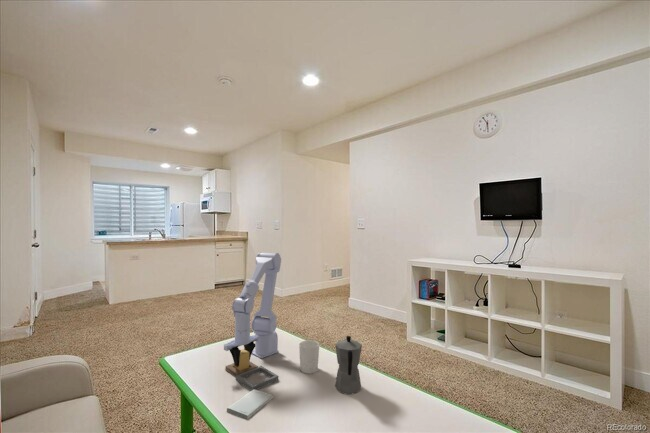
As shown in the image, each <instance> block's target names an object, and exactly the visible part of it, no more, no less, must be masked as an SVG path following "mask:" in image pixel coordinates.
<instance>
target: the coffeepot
mask: <svg viewBox="0 0 650 433" xmlns="http://www.w3.org/2000/svg"><path fill="white" fill-rule="evenodd" d="M362 347H363V344H361V343H360V342H359V341H357V340H352V337H351V335H347V336H346V338H344V339H342V340H338V341H337V342H336V343H335V353H336V360H337V364H338V369H337V372H336V378H335V384H334V387H335V389H336V391H338V392H339V393H341V394H344V393H346V394H345V395H353V394H352V393H355V394H357V393H359V392H360V391H361V389H362V384H361V383H362V382H361V376H360V371H359V365H360V358H361V353H362ZM359 390H360V391H359ZM356 392H357V393H356Z"/></svg>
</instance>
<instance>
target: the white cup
mask: <svg viewBox="0 0 650 433" xmlns="http://www.w3.org/2000/svg"><path fill="white" fill-rule="evenodd" d="M298 345H299V363H300V364H299V365H300V367H299V369H300V371H301V372H302V373H303V374H307V373H309V374H314V372H315V373H316V372H317V371H318V370H319V368H318V367H319V366H318V365H319V357H320V343H319V342H318V341H316V340H303V341H300V343H299V344H298Z"/></svg>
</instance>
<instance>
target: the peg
mask: <svg viewBox="0 0 650 433" xmlns="http://www.w3.org/2000/svg"><path fill="white" fill-rule="evenodd" d="M240 350H241V352H240V357H239V366H238V367H236V366H235V369H237V370H239V371H241V370H243V369H246V368H249V352H248V351H246V350H245V349H244V348H243V349H240Z"/></svg>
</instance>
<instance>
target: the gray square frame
mask: <svg viewBox="0 0 650 433" xmlns="http://www.w3.org/2000/svg"><path fill="white" fill-rule="evenodd" d="M257 373H258V374H259V373H262V374H264V375H266V376H267V377H269V378H266V379H264V380H262V381H258V382H257V383H255V384H253V383H251V382H250V381H248V380H247V379H246V378H248V377H250V376H253V375H255V374H257ZM235 380H236V381H237V382H239V383H240V384H241V385H242V386H244V387H245V388H247V389H249V390H250V391H252V390H253V389H255V390H260V389H262V388H264V387H266V386H268V385H270V384H273V383H275V382H277V381H279V375H278V374H276V373H274V372H273V371H271V370H269V369H267V368H266V367H264V366H262V365H260V366H258V367H257V368H254V369H252V370H249V371H247V372H244V373H242V374H239V375H236V377H235Z"/></svg>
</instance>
